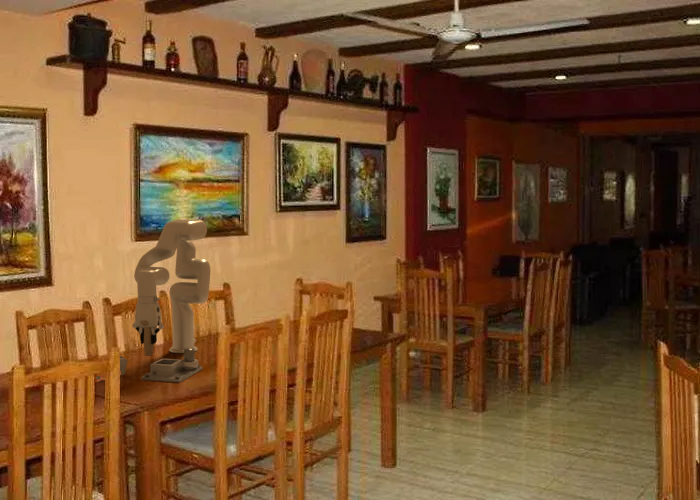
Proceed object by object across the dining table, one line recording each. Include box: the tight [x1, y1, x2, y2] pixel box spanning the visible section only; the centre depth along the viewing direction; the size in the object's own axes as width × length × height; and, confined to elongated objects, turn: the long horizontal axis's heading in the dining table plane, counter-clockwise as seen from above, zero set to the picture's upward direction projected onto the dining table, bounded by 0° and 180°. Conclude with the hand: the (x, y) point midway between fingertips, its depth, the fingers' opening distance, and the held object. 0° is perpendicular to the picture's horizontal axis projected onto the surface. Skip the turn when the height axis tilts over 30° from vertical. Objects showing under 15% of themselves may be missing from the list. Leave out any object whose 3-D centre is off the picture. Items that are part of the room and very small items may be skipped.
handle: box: [140, 321, 155, 357], centre depth 326 cm, size 5×6×15 cm
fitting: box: [141, 348, 203, 383], centre depth 317 cm, size 22×16×9 cm
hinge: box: [96, 355, 128, 380], centre depth 311 cm, size 17×5×10 cm, turn 154°
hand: (148, 342), depth 326 cm, fingers closed on handle, 3 cm apart
